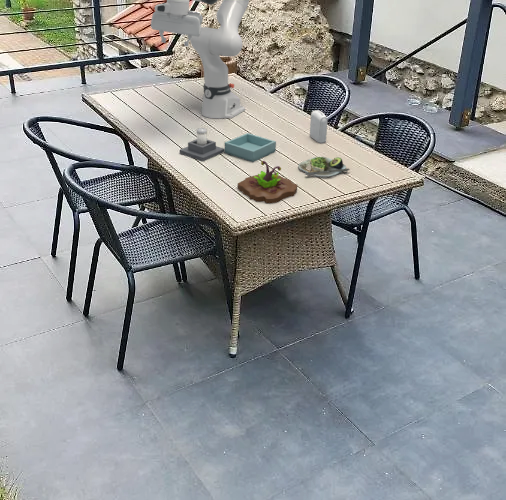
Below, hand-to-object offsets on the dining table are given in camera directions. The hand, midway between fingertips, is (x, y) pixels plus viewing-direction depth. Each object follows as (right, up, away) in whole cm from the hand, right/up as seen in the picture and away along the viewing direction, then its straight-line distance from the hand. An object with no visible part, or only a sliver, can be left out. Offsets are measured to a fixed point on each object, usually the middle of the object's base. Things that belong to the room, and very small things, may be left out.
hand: (174, 44), depth 267 cm
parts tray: (+31, -44, +3) cm, 53 cm away
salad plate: (+60, -53, -10) cm, 80 cm away
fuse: (+11, -44, +2) cm, 45 cm away
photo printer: (+60, -36, +19) cm, 72 cm away
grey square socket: (+11, -44, +2) cm, 45 cm away
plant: (+37, -62, -28) cm, 78 cm away
